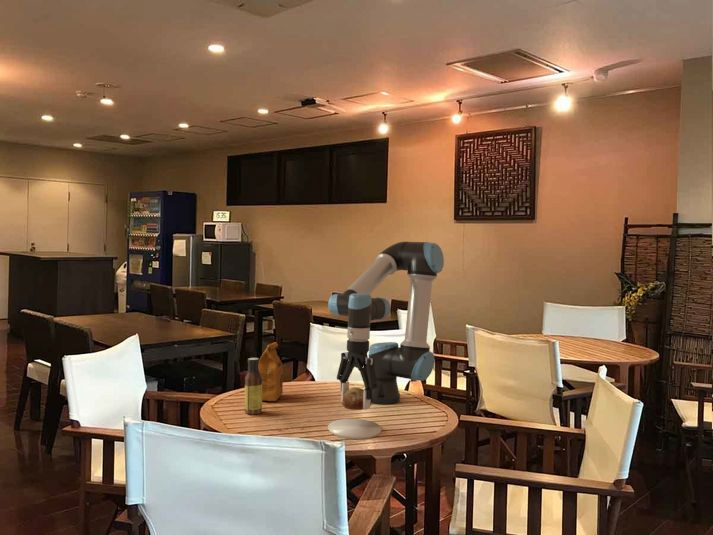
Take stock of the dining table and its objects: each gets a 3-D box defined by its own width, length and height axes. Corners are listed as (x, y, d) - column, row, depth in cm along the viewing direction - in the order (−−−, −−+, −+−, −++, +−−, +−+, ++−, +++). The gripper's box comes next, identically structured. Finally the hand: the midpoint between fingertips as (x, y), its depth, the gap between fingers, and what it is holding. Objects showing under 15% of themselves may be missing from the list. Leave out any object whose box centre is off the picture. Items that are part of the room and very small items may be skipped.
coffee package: (286, 396, 243) (288, 342, 242) (276, 404, 231) (278, 347, 230) (263, 393, 245) (264, 340, 244) (252, 401, 233) (253, 345, 232)
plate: (355, 419, 215) (355, 415, 215) (392, 432, 202) (392, 428, 202) (317, 428, 203) (317, 425, 203) (353, 443, 190) (353, 439, 190)
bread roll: (345, 412, 207) (336, 391, 207) (372, 399, 208) (363, 379, 207) (347, 420, 197) (338, 398, 197) (376, 407, 198) (366, 386, 197)
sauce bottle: (265, 412, 220) (267, 358, 219) (255, 416, 214) (257, 361, 213) (250, 409, 222) (252, 356, 222) (240, 413, 217) (242, 358, 216)
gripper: (327, 335, 207) (325, 399, 208) (374, 345, 191) (371, 414, 191) (343, 334, 212) (341, 396, 213) (390, 343, 196) (387, 411, 197)
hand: (355, 405), depth 202 cm, fingers closed on bread roll, 10 cm apart
